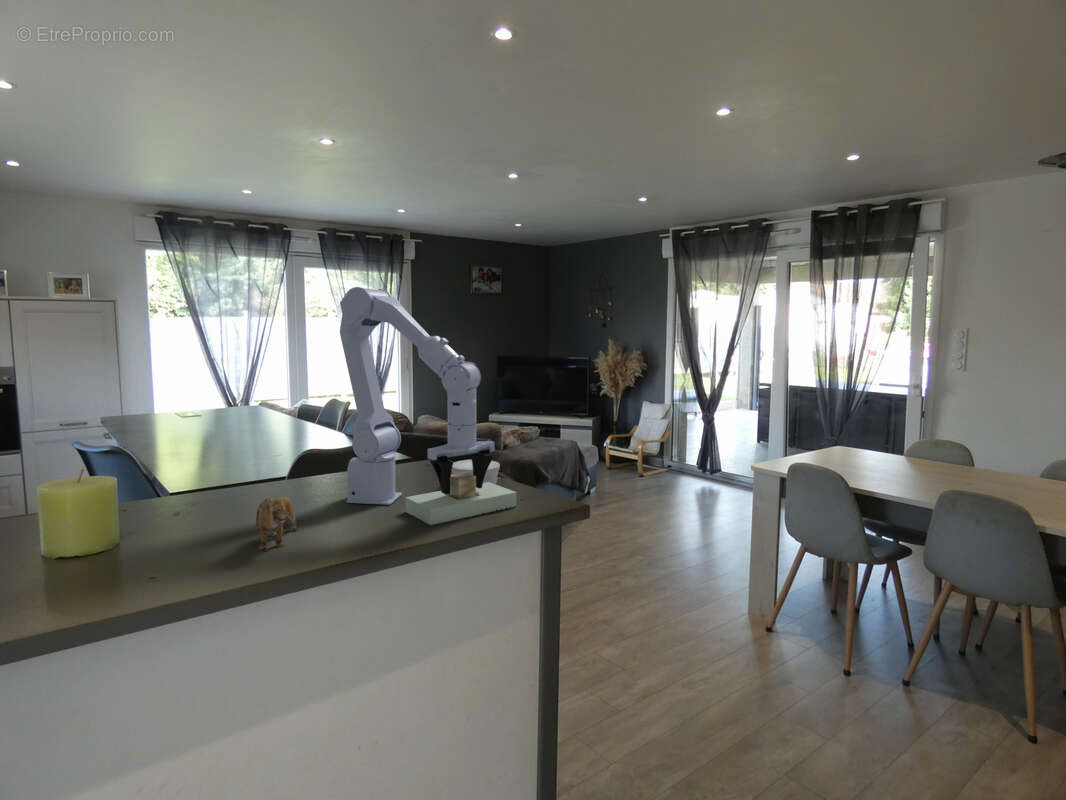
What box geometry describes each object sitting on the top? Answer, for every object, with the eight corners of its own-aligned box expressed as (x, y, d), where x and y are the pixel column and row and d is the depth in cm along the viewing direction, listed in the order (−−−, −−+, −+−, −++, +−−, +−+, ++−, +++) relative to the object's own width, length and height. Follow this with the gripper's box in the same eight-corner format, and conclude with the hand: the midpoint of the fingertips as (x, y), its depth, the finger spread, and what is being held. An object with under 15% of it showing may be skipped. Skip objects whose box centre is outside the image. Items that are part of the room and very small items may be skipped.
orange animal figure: (289, 554, 100) (287, 500, 99) (253, 557, 99) (251, 502, 98) (299, 525, 115) (297, 478, 113) (268, 527, 113) (266, 479, 112)
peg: (458, 513, 123) (458, 479, 122) (448, 508, 126) (448, 475, 125) (475, 510, 125) (475, 476, 125) (465, 505, 128) (465, 472, 128)
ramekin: (445, 482, 147) (445, 460, 146) (490, 478, 151) (490, 457, 150) (458, 495, 136) (458, 471, 136) (506, 490, 141) (506, 467, 140)
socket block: (430, 525, 116) (430, 509, 115) (405, 511, 123) (405, 497, 123) (516, 506, 128) (516, 492, 128) (488, 495, 136) (488, 482, 135)
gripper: (440, 430, 116) (440, 500, 118) (503, 423, 125) (502, 488, 127) (421, 424, 121) (422, 492, 123) (483, 418, 130) (483, 481, 132)
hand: (462, 490), depth 125 cm, fingers open, 7 cm apart
